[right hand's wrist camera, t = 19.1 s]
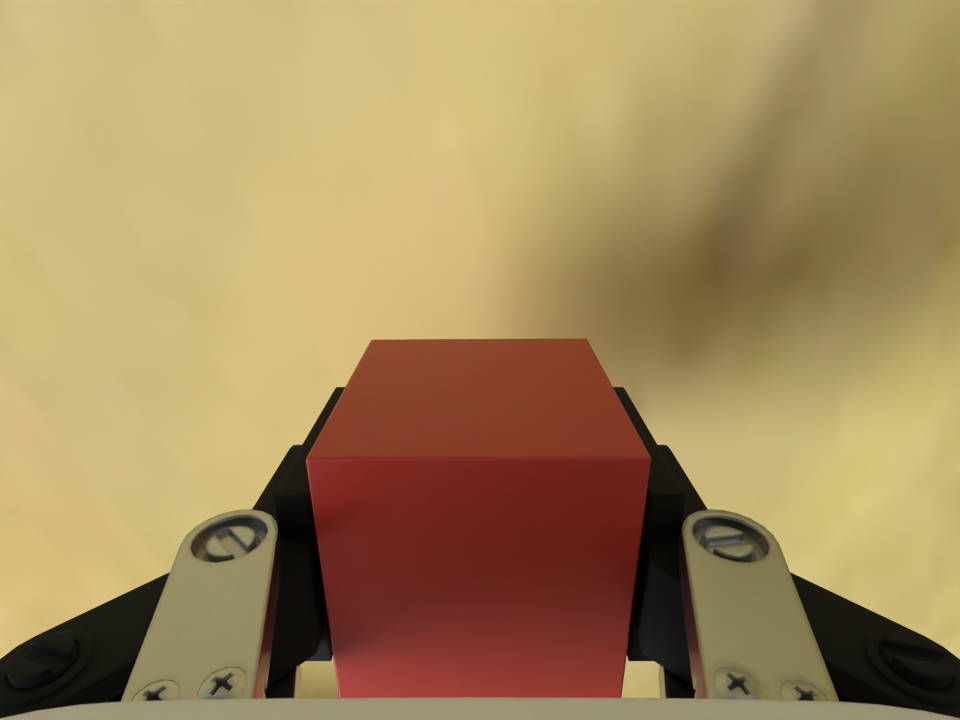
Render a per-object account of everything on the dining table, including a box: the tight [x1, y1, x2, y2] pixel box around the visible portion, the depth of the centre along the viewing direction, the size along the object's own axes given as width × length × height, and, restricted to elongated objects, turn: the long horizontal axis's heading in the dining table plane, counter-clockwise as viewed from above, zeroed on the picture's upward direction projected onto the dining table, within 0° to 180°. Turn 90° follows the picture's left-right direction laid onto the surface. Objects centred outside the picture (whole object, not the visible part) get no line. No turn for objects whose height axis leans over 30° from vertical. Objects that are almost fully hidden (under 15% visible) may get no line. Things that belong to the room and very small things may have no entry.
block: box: [306, 339, 651, 698], centre depth 10 cm, size 5×4×5 cm
